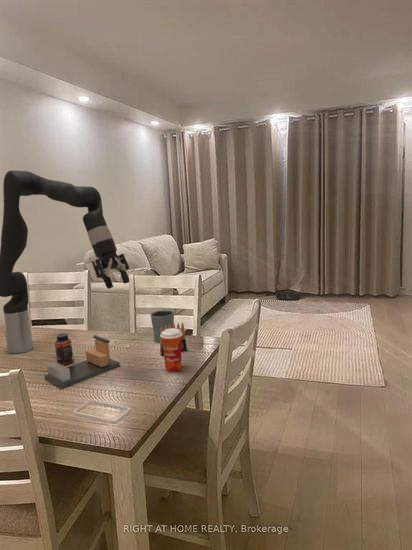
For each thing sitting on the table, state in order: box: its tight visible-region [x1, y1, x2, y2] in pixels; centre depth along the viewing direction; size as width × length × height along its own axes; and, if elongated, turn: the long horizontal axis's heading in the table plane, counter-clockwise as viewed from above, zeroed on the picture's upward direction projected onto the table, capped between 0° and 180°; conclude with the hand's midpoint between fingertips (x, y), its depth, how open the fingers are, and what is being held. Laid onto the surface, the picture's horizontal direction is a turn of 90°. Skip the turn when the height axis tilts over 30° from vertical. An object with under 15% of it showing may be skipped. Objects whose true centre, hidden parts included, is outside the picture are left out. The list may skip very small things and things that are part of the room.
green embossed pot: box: [150, 309, 175, 344], centre depth 173 cm, size 10×10×12 cm
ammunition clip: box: [159, 321, 188, 358], centre depth 157 cm, size 11×2×12 cm, turn 116°
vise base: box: [44, 358, 121, 390], centre depth 143 cm, size 23×12×6 cm, turn 137°
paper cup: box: [160, 328, 182, 373], centre depth 142 cm, size 8×8×14 cm
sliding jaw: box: [85, 335, 111, 367], centre depth 147 cm, size 5×10×9 cm, turn 47°
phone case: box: [73, 400, 131, 424], centre depth 115 cm, size 7×1×15 cm
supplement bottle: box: [54, 332, 74, 366], centre depth 152 cm, size 6×6×11 cm
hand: (118, 285), depth 137 cm, fingers open, 8 cm apart
